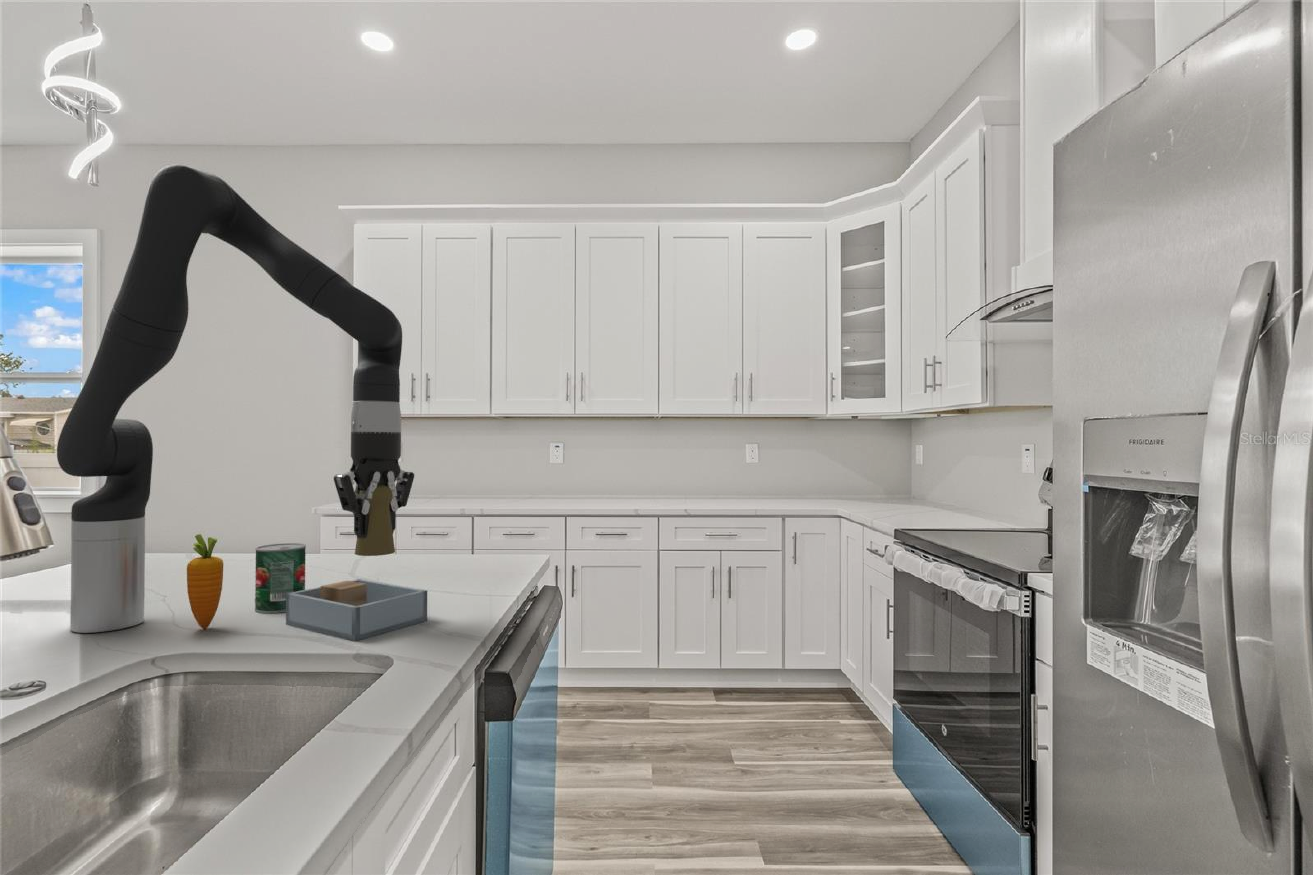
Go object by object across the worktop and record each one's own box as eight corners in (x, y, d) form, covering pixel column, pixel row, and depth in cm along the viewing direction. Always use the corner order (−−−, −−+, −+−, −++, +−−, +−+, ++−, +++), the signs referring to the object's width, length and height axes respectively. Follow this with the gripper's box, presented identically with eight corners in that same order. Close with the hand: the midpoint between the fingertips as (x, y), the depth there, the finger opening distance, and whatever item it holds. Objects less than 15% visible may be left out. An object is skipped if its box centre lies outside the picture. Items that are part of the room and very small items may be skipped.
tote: (285, 624, 110) (286, 593, 110) (359, 606, 122) (359, 578, 122) (355, 641, 101) (355, 608, 101) (427, 620, 113) (427, 590, 113)
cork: (402, 550, 111) (403, 484, 111) (380, 556, 105) (381, 486, 105) (370, 549, 113) (370, 483, 113) (346, 555, 107) (347, 485, 107)
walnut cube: (320, 615, 112) (320, 585, 112) (347, 609, 117) (347, 580, 117) (339, 620, 110) (340, 589, 110) (366, 613, 114) (366, 583, 114)
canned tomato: (245, 609, 119) (246, 547, 119) (289, 600, 126) (290, 541, 126) (270, 615, 115) (270, 551, 115) (314, 606, 122) (315, 545, 122)
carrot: (227, 629, 107) (228, 534, 107) (190, 635, 103) (191, 537, 103) (218, 623, 110) (219, 531, 110) (182, 629, 107) (183, 534, 107)
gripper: (351, 429, 101) (350, 543, 101) (427, 430, 113) (426, 532, 113) (321, 429, 105) (320, 539, 105) (397, 430, 117) (396, 529, 117)
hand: (375, 535), depth 109 cm, fingers closed on cork, 4 cm apart
